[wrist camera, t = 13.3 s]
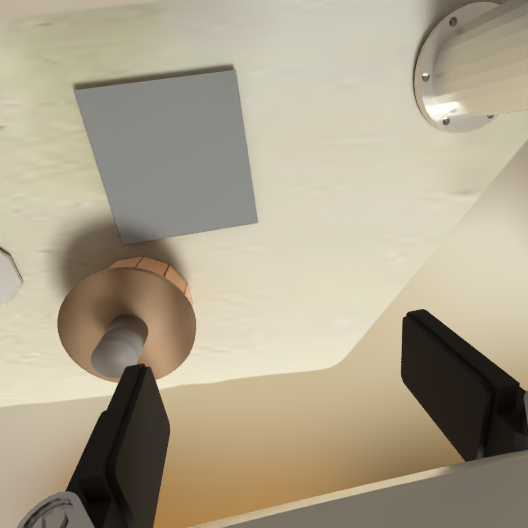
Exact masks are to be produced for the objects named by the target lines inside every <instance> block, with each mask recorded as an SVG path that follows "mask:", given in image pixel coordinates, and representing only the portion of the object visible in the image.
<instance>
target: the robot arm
mask: <svg viewBox="0 0 528 528" xmlns="http://www.w3.org/2000/svg"><path fill="white" fill-rule="evenodd" d="M422 77H423V80H422ZM414 86H415V96H416V99H417V103H418V106H419V108H420V110H421V112H422V114H423V116H424V117H425V118H426V119H427V121H428V122H429V123H430V124H432V125H433V126H434V127H435V128H438V129H440V130H442V131H445V132H450V133H463V132H470V131H474V130H476V129H479V128H481V127H483V126H485V125H487V124H488V123H490V122H491V121H492V120H494V119H495V118H496V117H497V116H498V115H499V114H502V113H510V112H518V111H526V110H528V0H509V1H507V2H505V3H503V4H501V5H500V4H497V3H493V2H490V1H478V2H474V3H470V4H467V5H465V6H463V7H461V8H459V9H457V10H455V11H454V12H452V13H450V14H449V15H447V16H446V17H445V18H444V19H443V20H442V21H440V22H439V23H438V24H437V25H436V27H435V28H434V29H433V30H432V32H431V33H430V34H429V36H428V38H427V39H426V41H425V43H424V45H423V47H422V49H421V52H420V54H419V57H418V60H417V65H416V69H415V79H414ZM401 360H402V361H401V377H402V380H403V382H404V384H405V385H406V386H407V388H408V389H409V390H410V391H411V393H412V394H413V395H414V397H415V398H416V399H417V400H418V402H419V403H420V404H421V405H422V407H423V408H424V409H425V410H426V412H427V413H428V414H429V416H430V417H431V418H432V419H433V421H434V422H435V423H436V425H437V426H438V427H439V428H440V430H441V431H442V432H443V433H444V435H445V436H446V437H447V439H448V440H449V441H450V442H451V444H452V445H453V446H454V448H455V449H456V450H457V451H458V453H459V454H460V455H461V456H462V458H463V459H464V460H465V462H464V463H459V464H454V465H450V466H446V467H441V468H437V469H432V470H428V471H424V472H420V473H415V474H411V475H406V476H402V477H397V478H393V479H389V480H384V481H380V482H376V483H371V484H367V485H363V486H359V487H355V488H350V489H346V490H341V491H337V492H333V493H329V494H325V495H320V496H316V497H312V498H307V499H304V500H299V501H295V502H291V503H286V504H282V505H278V506H274V507H270V508H265V509H262V510H257V511H253V512H249V513H245V514H241V515H236V516H232V517H228V518H224V519H220V520H216V521H212V522H208V523H204V524H200V525H196V526H192V527H188V528H528V391H527V392H526V391H525V390H523V389H522V388H521V387H520V386H519V385H520V383H519V382H517V381H516V380H515V379H514V378H512V377H511V376H510V375H508V374H507V373H506V372H505V371H503V370H502V369H501V368H499V367H498V366H497V365H496V364H494V363H493V362H492V361H490V360H489V359H488V358H487V357H485V356H484V355H483V354H482V353H480V352H479V351H477V350H476V349H475V348H474V347H473V346H471V345H470V344H469V343H467V342H466V341H464V339H462V338H461V337H460V336H458V335H457V334H456V333H455V332H453V331H452V330H451V329H449V328H448V327H447V326H446V325H444V324H443V323H442V322H441V321H439V320H438V319H437V318H435V317H434V316H433V315H431V314H430V313H429V312H428V311H426V310H424V309H421V310H416V311H410V312H408V313H407V314H406V317H404V318H403V325H402V358H401ZM169 436H170V424H169V420H168V417H167V414H166V411H165V408H164V405H163V402H162V399H161V396H160V393H159V390H158V387H157V384H156V381H155V378H154V375H153V372H152V369H151V367H150V366H148V367H146V366H145V364H143V363H142V364H136V365H131V366H127V367H126V368H125V369H124V372H123V374H122V376H121V379H120V381H119V383H118V385H117V388H116V390H115V392H114V395H113V397H112V399H111V401H110V404H109V406H108V408H107V410H106V411H104V412H102V413H101V415H100V417H99V419H98V421H97V423H96V425H95V427H94V430H93V432H92V434H91V436H90V438H89V441H88V443H87V445H86V447H85V449H84V452H83V454H82V456H81V458H80V460H79V463H78V465H77V467H76V469H75V472H74V474H73V476H72V478H71V480H70V482H69V485H68V487H67V489H66V491H65V492H59V493H56V494H54V495H52V496H49V497H48V498H46V499H44V500H43V501H41V502H40V503H38V504H37V505H36V506H35V507H34V508H33V509H31V510H30V511H29V512H28V513H27V515H26V516H25V517H24V518H23V519H22V520H21V522H20V523H19V525H18V526H17V528H153V525H154V519H155V514H156V508H157V503H158V496H159V491H160V486H161V480H162V475H163V469H164V464H165V458H166V452H167V447H168V441H169Z"/></svg>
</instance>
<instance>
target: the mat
mask: <svg viewBox="0 0 528 528" xmlns="http://www.w3.org/2000/svg"><path fill="white" fill-rule="evenodd" d="M74 93H75V96H76V99H77V103H78V106H79V109H80V112H81V115H82V118H83V122H84V125H85V128H86V131H87V134H88V137H89V141H90V144H91V147H92V150H93V153H94V156H95V160H96V163H97V166H98V169H99V172H100V175H101V179H102V182H103V185H104V188H105V191H106V194H107V198H108V201H109V204H110V207H111V210H112V213H113V217H114V220H115V223H116V226H117V229H118V232H119V236H120V239H121V242H122V245H127V244H133V243H139V242H145V241H151V240H157V239H163V238H169V237H175V236H181V235H187V234H193V233H199V232H206V231H212V230H218V229H224V228H230V227H236V226H242V225H248V224H254V223H258V219H257V212H256V206H255V199H254V192H253V185H252V178H251V171H250V164H249V158H248V151H247V144H246V137H245V130H244V123H243V116H242V110H241V103H240V96H239V89H238V82H237V75H236V70H229V71H221V72H214V73H206V74H198V75H190V76H182V77H174V78H166V79H158V80H150V81H143V82H135V83H127V84H119V85H111V86H103V87H95V88H87V89H80V90H74Z"/></svg>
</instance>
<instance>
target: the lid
mask: <svg viewBox="0 0 528 528" xmlns="http://www.w3.org/2000/svg"><path fill="white" fill-rule="evenodd" d="M58 333H59V337H60V340H61V343H62V345H63V347H64V349H65V350H66V352H67V353H68V355H69V356H70V357H71V358H72V359H73V360H74V362H75V363H76V364H78V365H79V366H80V367H81V368H83V369H84V370H86V371H87V372H89V373H90V374H92V375H94V376H96V377H99V378H102V379H104V380H108V381H111V382H116V383H119V381H120V379H121V376H122V374H123V372H124V369H125V368H126V367H127V366H131V365H136V364H142V363H143V364H145V366H146V367H148V366H150V367H151V369H152V372H153V375H154V378H155V380H157V379H159V378H162V377H164V376H166V375H168V374H170V373H171V372H173V371H174V370H176V369H177V368H178V367H179V366H180V365H181V364H182V363H183V362H184V361H185V360H186V358H187V357H188V355H189V353H190V351H191V349H192V347H193V344H194V340H195V333H196V319H195V313H194V311H193V308H192V305H191V303H190V301H189V300H188V298H187V297H186V295H185V294H184V293H183V292H182V291H181V290H180V288H179V287H177V286H176V285H175V284H174V283H173V282H171V281H170V280H168V279H167V278H165V277H163V276H161V275H159V274H157V273H155V272H152V271H149V270H145V269H141V268H135V267H115V268H109V269H105V270H101V271H99V272H96V273H94V274H92V275H90V276H88V277H86V278H85V279H83V280H82V281H81V282H79V283H78V284H77V285H76V286H75V287H74V288H73V289H72V290H71V291H70V292H69V293H68V295H67V296H66V298H65V299H64V301H63V303H62V305H61V307H60V310H59V314H58Z"/></svg>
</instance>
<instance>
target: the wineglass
mask: <svg viewBox="0 0 528 528" xmlns="http://www.w3.org/2000/svg"><path fill="white" fill-rule="evenodd" d="M22 284H23V282H22V279H21V277H20V275H19V273H18V271H17V269H16V267H15V265H14V263H13V260H12V258H11V256H9V255H8V254H6V253H5V252H3V251H2V250H0V305H4V304H6V303H7V302H8V301H9V300H10V298H11V297H12V296H13V295H14V294H15V292H16V291H17V290H18V289H19V287H20V286H21V285H22Z"/></svg>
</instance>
